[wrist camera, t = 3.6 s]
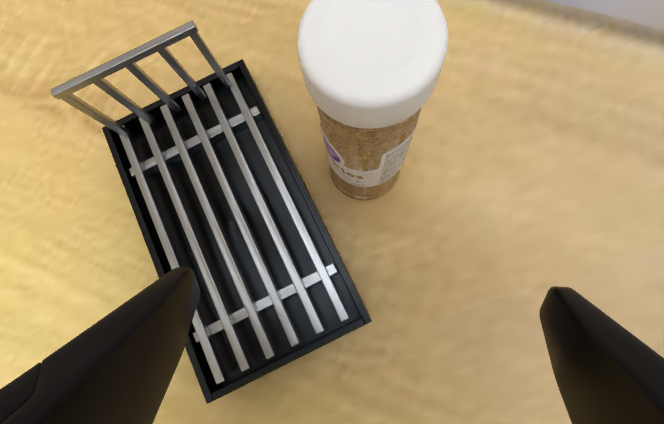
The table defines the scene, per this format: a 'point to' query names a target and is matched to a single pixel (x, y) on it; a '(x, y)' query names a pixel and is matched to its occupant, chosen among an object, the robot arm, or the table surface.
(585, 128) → the table surface
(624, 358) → the robot arm
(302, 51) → the sprinkles bottle
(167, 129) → the dish rack
